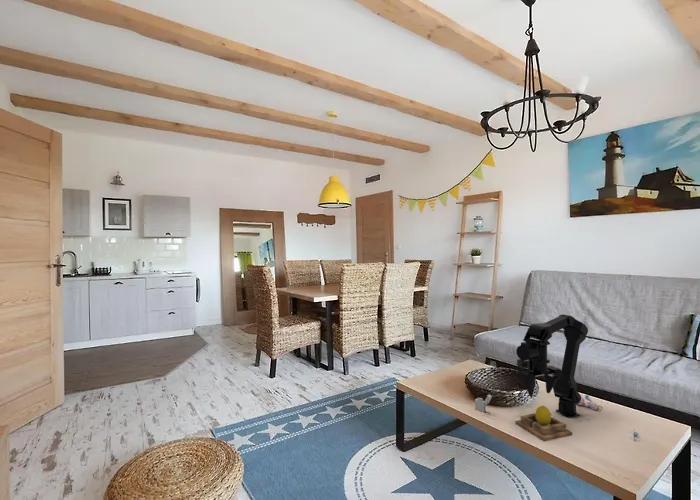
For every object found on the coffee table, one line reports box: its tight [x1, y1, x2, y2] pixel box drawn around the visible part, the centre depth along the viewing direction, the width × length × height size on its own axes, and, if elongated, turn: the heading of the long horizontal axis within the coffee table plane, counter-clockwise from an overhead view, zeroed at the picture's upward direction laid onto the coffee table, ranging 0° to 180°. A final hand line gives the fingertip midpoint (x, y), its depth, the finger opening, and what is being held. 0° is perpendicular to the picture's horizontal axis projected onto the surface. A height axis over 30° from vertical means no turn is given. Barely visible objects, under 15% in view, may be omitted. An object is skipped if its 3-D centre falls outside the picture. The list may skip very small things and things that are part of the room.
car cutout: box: [628, 430, 641, 442], centre depth 138 cm, size 15×7×4 cm, turn 140°
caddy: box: [514, 412, 573, 442], centre depth 141 cm, size 14×14×4 cm
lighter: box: [474, 393, 493, 413], centre depth 156 cm, size 7×2×8 cm, turn 42°
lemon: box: [534, 405, 552, 426], centre depth 141 cm, size 6×6×8 cm
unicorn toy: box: [576, 394, 604, 412], centre depth 162 cm, size 6×6×15 cm
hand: (539, 394), depth 145 cm, fingers open, 9 cm apart
